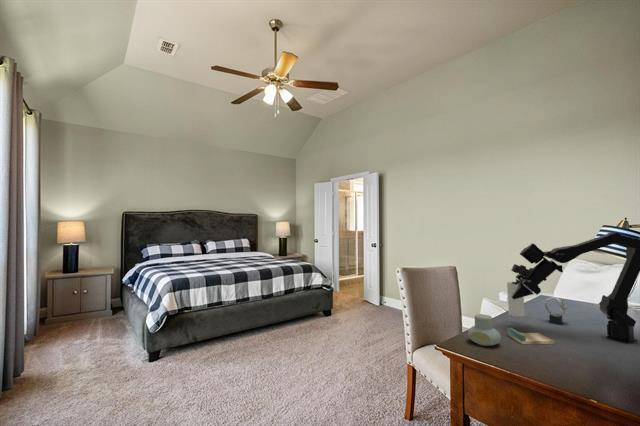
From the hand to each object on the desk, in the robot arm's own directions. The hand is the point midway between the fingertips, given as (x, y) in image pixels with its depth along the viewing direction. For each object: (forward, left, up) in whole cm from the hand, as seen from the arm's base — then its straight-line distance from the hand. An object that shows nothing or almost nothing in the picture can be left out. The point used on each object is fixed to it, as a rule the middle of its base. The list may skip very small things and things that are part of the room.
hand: (511, 297), depth 131 cm
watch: (-1, -25, -13) cm, 29 cm away
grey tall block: (-1, -1, -7) cm, 7 cm away
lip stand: (-11, +6, -13) cm, 19 cm away
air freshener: (-7, +25, -14) cm, 29 cm away
